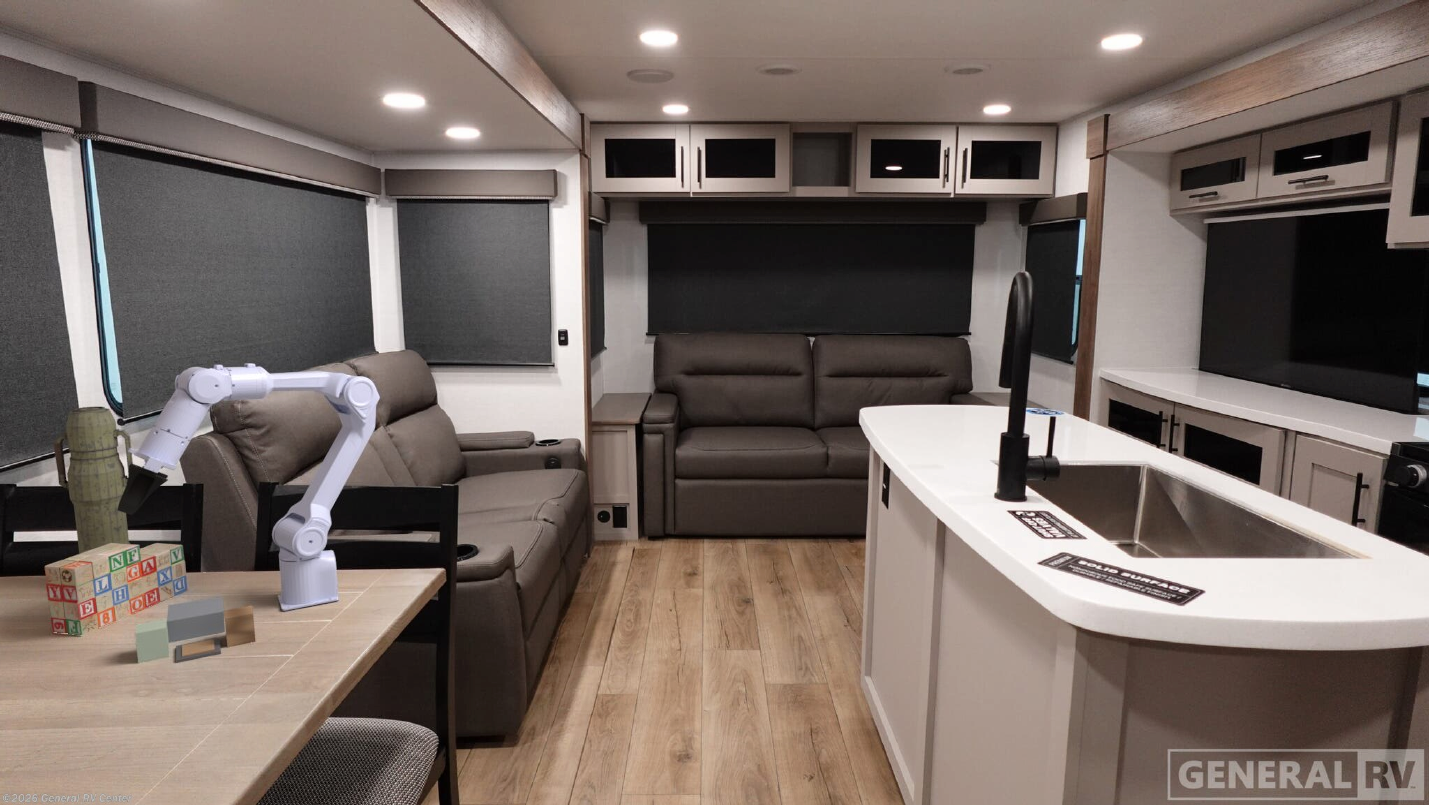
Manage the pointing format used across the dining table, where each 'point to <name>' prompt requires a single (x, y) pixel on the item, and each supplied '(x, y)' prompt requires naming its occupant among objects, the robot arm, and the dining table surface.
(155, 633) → the sage green block
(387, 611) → the dining table surface
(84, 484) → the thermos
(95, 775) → the dining table surface
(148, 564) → the stack of blocks
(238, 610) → the walnut block
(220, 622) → the slate base block
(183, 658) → the card
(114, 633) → the dining table surface
